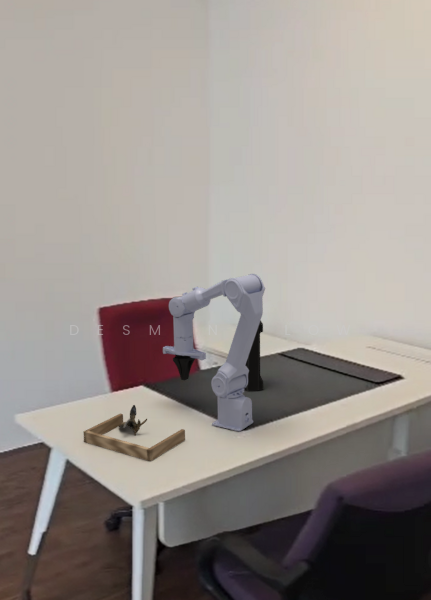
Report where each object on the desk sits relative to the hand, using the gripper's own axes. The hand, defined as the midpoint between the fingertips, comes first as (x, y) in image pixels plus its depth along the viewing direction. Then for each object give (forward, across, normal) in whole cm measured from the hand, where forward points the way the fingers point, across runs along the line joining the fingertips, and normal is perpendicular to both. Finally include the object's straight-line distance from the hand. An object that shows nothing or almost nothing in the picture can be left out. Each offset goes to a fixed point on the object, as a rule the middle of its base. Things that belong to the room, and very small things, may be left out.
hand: (184, 379), depth 199 cm
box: (+9, -2, +26) cm, 28 cm away
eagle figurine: (+10, +3, +21) cm, 23 cm away
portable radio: (+10, -8, -27) cm, 30 cm away
